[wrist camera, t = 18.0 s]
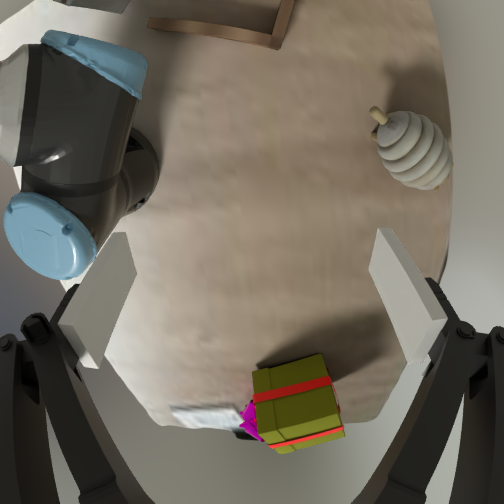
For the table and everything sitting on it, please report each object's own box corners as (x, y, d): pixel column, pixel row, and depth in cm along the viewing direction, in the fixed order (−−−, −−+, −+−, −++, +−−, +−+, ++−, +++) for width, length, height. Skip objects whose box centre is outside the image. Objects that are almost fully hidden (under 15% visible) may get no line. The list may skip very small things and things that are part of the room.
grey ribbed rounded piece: (412, 189, 47) (444, 220, 38) (336, 136, 42) (359, 157, 33) (445, 141, 41) (483, 164, 32) (371, 80, 37) (405, 87, 28)
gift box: (320, 341, 73) (227, 368, 77) (338, 404, 54) (222, 432, 57) (335, 389, 81) (254, 411, 84) (350, 446, 62) (255, 468, 65)
